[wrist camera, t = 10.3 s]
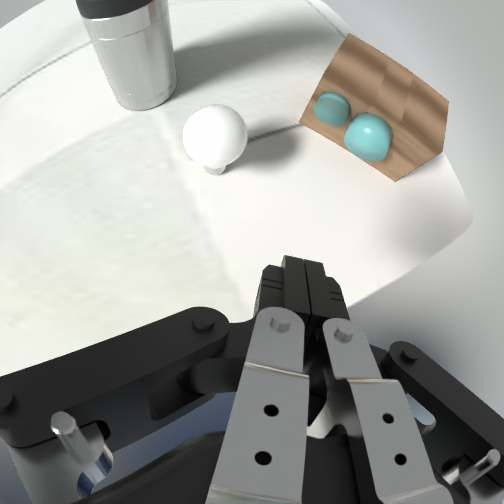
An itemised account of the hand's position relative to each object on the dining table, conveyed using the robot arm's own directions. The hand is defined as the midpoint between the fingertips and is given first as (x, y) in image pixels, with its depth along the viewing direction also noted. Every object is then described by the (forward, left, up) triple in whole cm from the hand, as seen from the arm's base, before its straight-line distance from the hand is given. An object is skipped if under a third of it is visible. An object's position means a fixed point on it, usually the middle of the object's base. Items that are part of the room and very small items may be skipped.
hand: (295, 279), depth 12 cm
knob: (-5, +27, -18) cm, 33 cm away
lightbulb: (-13, +7, -22) cm, 27 cm away
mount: (-5, +27, -22) cm, 35 cm away
